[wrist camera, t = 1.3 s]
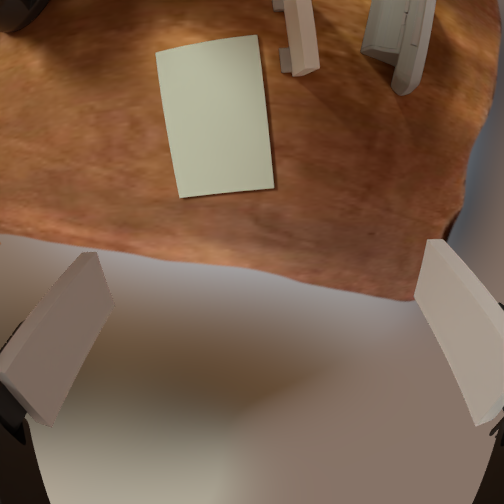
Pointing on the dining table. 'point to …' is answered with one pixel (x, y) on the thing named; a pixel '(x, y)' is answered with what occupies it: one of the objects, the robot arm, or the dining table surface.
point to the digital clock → (400, 38)
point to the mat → (216, 116)
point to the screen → (298, 37)
